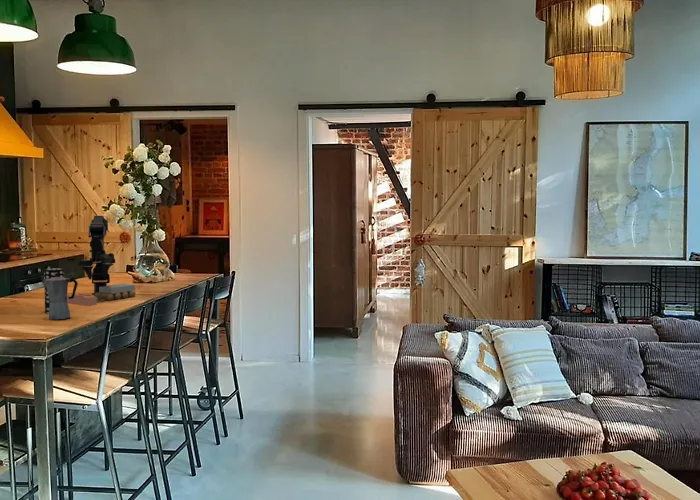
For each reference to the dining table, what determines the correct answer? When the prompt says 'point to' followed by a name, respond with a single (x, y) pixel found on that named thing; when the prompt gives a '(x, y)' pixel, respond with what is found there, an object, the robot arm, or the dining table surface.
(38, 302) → the dining table surface
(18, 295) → the dining table surface
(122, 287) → the slab
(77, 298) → the stop beam
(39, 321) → the dining table surface
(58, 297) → the moka pot
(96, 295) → the roller bed
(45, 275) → the white-spotted black cylinder
